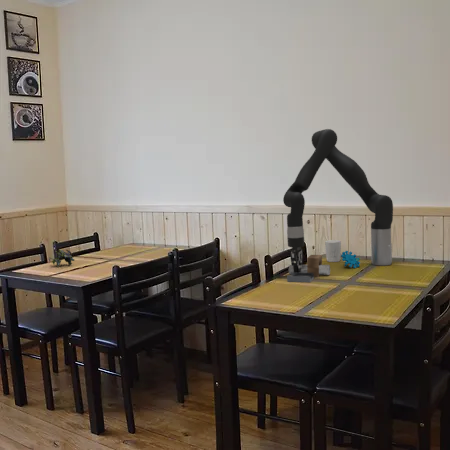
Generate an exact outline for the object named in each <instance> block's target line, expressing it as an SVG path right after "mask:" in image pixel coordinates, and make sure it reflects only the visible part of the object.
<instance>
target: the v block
mask: <svg viewBox="0 0 450 450" xmlns="http://www.w3.org/2000/svg"><path fill="white" fill-rule="evenodd" d="M286 276H287V277H286V281H287V282H288V283H311V282H312V281H313V280H314V279H315V277H314V273H307V272H291V275H290V274H287V275H286Z"/></svg>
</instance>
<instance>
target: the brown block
mask: <svg viewBox="0 0 450 450" xmlns="http://www.w3.org/2000/svg"><path fill="white" fill-rule="evenodd" d="M306 265H307V273H314V278H319V277H320V275H319V265H323V255H322V254H310V255H309V256H308V257H306Z"/></svg>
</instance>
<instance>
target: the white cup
mask: <svg viewBox="0 0 450 450" xmlns="http://www.w3.org/2000/svg"><path fill="white" fill-rule="evenodd" d="M324 245H325V246H324V247H325V248H324V249H325V257H326V262H330V263H336V262H340V261H341V255H342V253H341V252H342V251H341V250H342V241H341V240H339V239H329V240H325V241H324Z"/></svg>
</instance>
